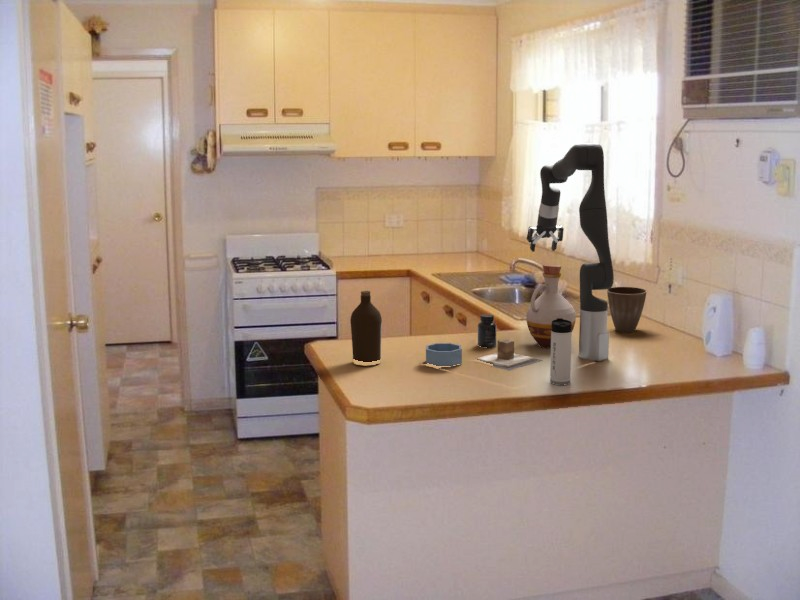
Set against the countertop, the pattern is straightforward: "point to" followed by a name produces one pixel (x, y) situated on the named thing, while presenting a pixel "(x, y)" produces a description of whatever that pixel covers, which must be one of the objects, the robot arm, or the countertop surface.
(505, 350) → the lid
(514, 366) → the mat
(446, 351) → the bowl
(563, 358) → the travel mug
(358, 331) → the olive oil
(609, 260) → the robot arm
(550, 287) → the jug
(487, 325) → the supplement bottle
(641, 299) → the plant pot
